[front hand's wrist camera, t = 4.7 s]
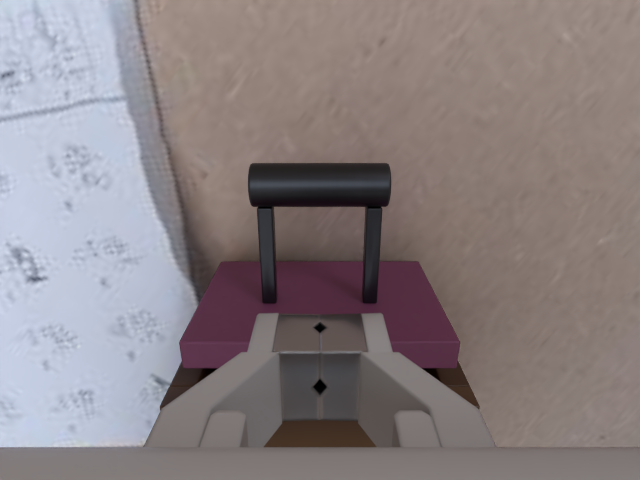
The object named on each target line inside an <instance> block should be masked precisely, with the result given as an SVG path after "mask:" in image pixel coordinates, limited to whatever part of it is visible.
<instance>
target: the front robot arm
mask: <svg viewBox="0 0 640 480" xmlns="http://www.w3.org/2000/svg"><path fill="white" fill-rule="evenodd" d="M311 420H328V421H358V424H359V425H360V426H361V428H362V429H363V430H364V431H365V433H366V434H367V435H368V436H369V438H370V439H371V440H372V442H373V443H374V444H375V445H376V447H264V446H265V444H266V443H267V442H268V441H269V439H270V438H271V437H272V436H273V434H274V433H275V432H276V431H277V429H278V428H279V427H280V425H281V424H282V421H311ZM0 480H640V447H496V445H495V443H494V441H493V439H492V436H491V434H490V432H489V430H488V428H487V426H486V424H485V422H484V419H483V417H482V415H481V413H480V411H479V409H478V408H476V407H475V406H474V405H472V404H471V403H469V402H468V401H467V400H465V399H464V398H462V397H461V396H460V395H458V394H457V393H455V392H454V391H453V390H451V389H450V388H448V387H447V386H446V385H444V384H443V383H441V382H440V381H439V380H437V379H436V378H434V377H433V376H432V375H430V374H429V373H427V372H426V371H425V370H423V369H422V368H420V367H419V366H418V365H416V364H415V363H413V362H412V361H411V360H409V359H408V358H406V357H405V356H403V355H402V354H401V353H399V352H393V351H392V347H391V343H390V340H389V336H388V332H387V328H386V324H385V321H384V317H383V314H382V313H363V314H361V313H360V314H292V313H280V314H279V313H259V314H258V315H257V316H256V320H255V324H254V328H253V332H252V336H251V339H250V343H249V347H248V351H247V352H241V353H239V354H238V355H237V356H235V357H234V358H232V359H231V360H229V361H228V362H227V363H225V364H224V365H222V366H221V367H220V368H218V369H217V370H215V371H214V372H213V373H211V374H210V375H208V376H207V377H206V378H204V379H203V380H201V381H200V382H198V383H197V384H196V385H194V386H193V387H191V388H190V389H189V390H187V391H186V392H184V393H183V394H182V395H180V396H179V397H177V398H176V399H175V400H173V401H172V402H170V403H169V404H168V405H166V406H165V407H163V408H162V409H161V411H160V413H159V416H158V418H157V420H156V422H155V424H154V426H153V428H152V430H151V432H150V434H149V437H148V439H147V441H146V443H145V445H144V447H0Z"/></svg>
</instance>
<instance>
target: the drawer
mask: <svg viewBox="0 0 640 480" xmlns="http://www.w3.org/2000/svg"><path fill="white" fill-rule="evenodd" d="M248 192H249V199H250V203H251V205H252V206H253V207H258V208H257V217H258V234H259V252H260V262H221V263H220V265H219V267H218V269H217V271H216V273H215V275H214V277H213V278H212V280H211V282H210V284H209V286H208V288H207V290H206V292H205V294H204V296H203V298H202V300H201V301H200V303H199V305H198V307H197V309H196V311H195V313H194V315H193V317H192V319H191V321H190V323H189V325H188V326H187V328H186V330H185V332H184V334H183V336H182V338H181V340H180V342H179V344H180V351H181V358H182V365H183V368H220V367H221V366H222V365H224V364H225V363H227V362H228V361H229V360H231V359H232V358H234V357H235V356H237V355H238V354H239V353H241V352H247V351H248V347H249V343H250V339H251V336H252V332H253V328H254V324H255V320H256V316H257V315H258V314H259V313H279V314H280V313H292V314H360V313H361V314H363V313H382V314H383V317H384V321H385V324H386V328H387V332H388V336H389V340H390V343H391V347H392V351H393V352H399V353H401V354H402V355H403V356H405V357H406V358H408V359H409V360H411V361H412V362H413V363H415V364H416V365H418V366H419V367H420V368H456V367H457V360H458V353H459V346H460V341H459V339H458V337H457V335H456V333H455V331H454V329H453V327H452V326H451V324H450V322H449V320H448V318H447V316H446V314H445V312H444V310H443V308H442V306H441V304H440V302H439V301H438V299H437V297H436V295H435V293H434V291H433V289H432V287H431V285H430V283H429V281H428V279H427V277H426V276H425V274H424V272H423V270H422V268H421V266H420V264H419V262H379V259H380V240H381V222H382V207H386V206H388V204H389V201H390V195H391V172H390V167H389V164H387V163H252V164H251V165H250V168H249V174H248ZM274 207H365V229H364V254H363V262H276V244H275V220H274Z"/></svg>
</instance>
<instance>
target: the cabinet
mask: <svg viewBox="0 0 640 480" xmlns="http://www.w3.org/2000/svg"><path fill="white" fill-rule="evenodd" d="M217 369H218V368H183V365H182V362H181V364H180V366H179V368H178V370H177V372H176V374H175V376H174V379H173V381H172V383H171V385H170V387H169V389H168V391H167V393H166V395H165V397H164V399H163V401H162V403H161V405H160V411H161V409H162V408H163V407H165V406H166V405H168V404H169V403H170V402H172V401H173V400H175V399H176V398H177V397H179V396H180V395H182V394H183V393H184V392H186V391H187V390H189V389H190V388H191V387H193V386H194V385H196V384H197V383H198V382H200V381H201V380H203V379H204V378H206V377H207V376H208V375H210V374H211V373H213V372H214V371H215V370H217ZM422 369H423V370H425V371H426V372H427V373H429V374H430V375H432V376H433V377H434V378H436V379H437V380H439V381H440V382H441V383H443V384H444V385H446V386H447V387H448V388H450V389H451V390H453V391H454V392H455V393H457V394H458V395H460V396H461V397H462V398H464V399H465V400H467V401H468V402H469V403H471V404H472V405H474V406H475V407H476V408H478V409H479V407H480V406H479V404H478V402H477V400H476V398H475V396H474V394H473V392H472V390H471V387H470V385H469V383H468V381H467V379H466V377H465V375H464V373H463V371H462V369H461V366H460V364H459V362H458V360H457V367H456V368H422ZM264 447H376V445H375V444H374V443H373V442H372V440H371V439H370V438H369V436H368V435H367V434H366V433H365V431H364V430H363V429H362V428H361V426H360V425H359V424H358V421H328V420H311V421H282V424H281V425H280V427H279V428H278V429H277V431H276V432H275V433H274V434H273V436H272V437H271V438H270V439H269V441H268V442H267V443H266V444H265V446H264Z"/></svg>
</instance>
